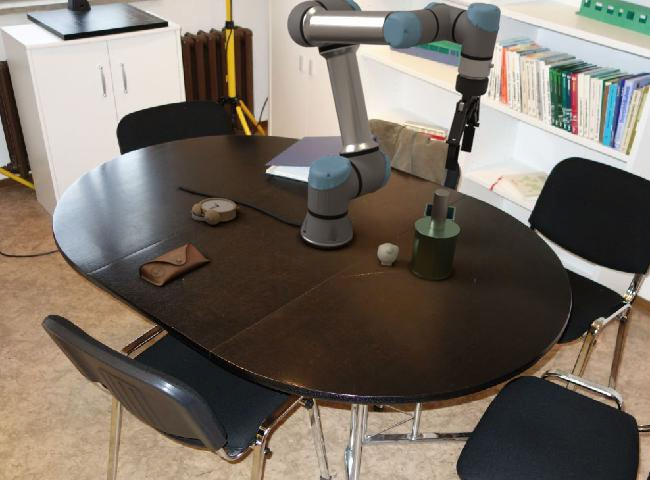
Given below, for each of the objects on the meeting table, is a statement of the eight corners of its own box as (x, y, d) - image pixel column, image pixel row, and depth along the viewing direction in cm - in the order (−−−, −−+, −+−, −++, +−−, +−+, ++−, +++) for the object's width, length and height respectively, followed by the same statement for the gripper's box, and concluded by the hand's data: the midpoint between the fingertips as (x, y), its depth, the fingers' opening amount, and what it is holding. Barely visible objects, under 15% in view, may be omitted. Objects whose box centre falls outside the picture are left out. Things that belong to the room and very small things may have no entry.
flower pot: (449, 247, 201) (454, 219, 196) (419, 243, 202) (423, 215, 197) (451, 233, 208) (456, 206, 203) (422, 229, 209) (426, 202, 204)
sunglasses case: (161, 286, 175) (149, 262, 173) (146, 290, 180) (135, 266, 178) (212, 260, 187) (201, 237, 186) (197, 263, 192) (187, 241, 190)
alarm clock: (244, 205, 210) (210, 214, 199) (242, 220, 212) (209, 230, 201) (217, 194, 215) (182, 202, 204) (215, 209, 217) (181, 218, 206)
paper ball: (376, 266, 190) (377, 248, 186) (377, 256, 194) (379, 238, 191) (397, 268, 189) (399, 250, 186) (397, 258, 194) (400, 240, 191)
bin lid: (410, 237, 179) (415, 198, 173) (417, 217, 189) (422, 179, 183) (456, 245, 177) (463, 205, 171) (461, 224, 187) (468, 186, 181)
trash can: (407, 276, 186) (412, 234, 179) (414, 256, 195) (419, 216, 188) (448, 283, 184) (455, 242, 177) (453, 263, 193) (460, 223, 186)
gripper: (474, 92, 151) (458, 181, 163) (501, 65, 170) (485, 147, 182) (442, 85, 153) (428, 173, 165) (472, 60, 172) (458, 141, 184)
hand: (458, 160), depth 174 cm, fingers open, 13 cm apart
